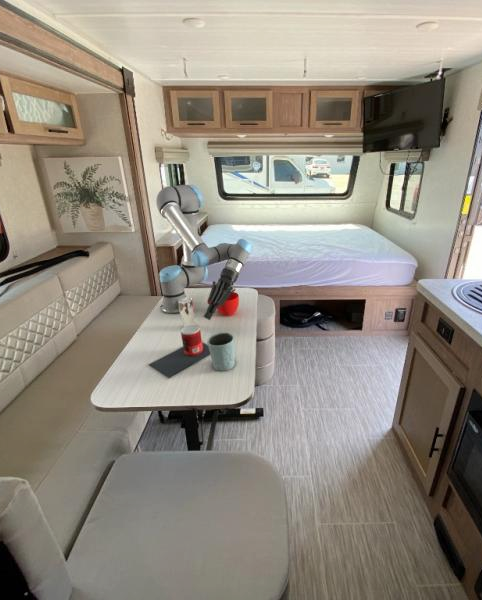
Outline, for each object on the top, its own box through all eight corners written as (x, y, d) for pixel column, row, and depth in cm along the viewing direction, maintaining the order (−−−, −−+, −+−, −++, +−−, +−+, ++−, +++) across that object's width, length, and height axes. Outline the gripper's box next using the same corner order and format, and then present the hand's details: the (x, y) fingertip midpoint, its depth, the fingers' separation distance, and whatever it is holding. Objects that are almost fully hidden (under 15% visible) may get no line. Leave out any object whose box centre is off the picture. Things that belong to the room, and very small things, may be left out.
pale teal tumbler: (241, 361, 130) (238, 335, 126) (225, 375, 122) (222, 348, 118) (221, 355, 135) (218, 330, 130) (205, 368, 127) (201, 341, 123)
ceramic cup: (212, 308, 180) (210, 291, 176) (242, 308, 178) (240, 291, 174) (205, 318, 168) (203, 301, 164) (237, 318, 166) (235, 301, 162)
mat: (196, 340, 147) (196, 339, 147) (217, 350, 139) (217, 349, 139) (149, 365, 131) (149, 364, 131) (168, 377, 122) (168, 377, 122)
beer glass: (189, 323, 163) (185, 296, 157) (199, 326, 160) (195, 298, 154) (179, 329, 158) (174, 301, 152) (190, 332, 155) (185, 304, 149)
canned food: (206, 347, 141) (202, 325, 136) (197, 357, 134) (193, 334, 129) (190, 345, 143) (186, 323, 138) (181, 355, 136) (176, 332, 131)
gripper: (216, 264, 146) (191, 311, 141) (236, 269, 138) (211, 319, 133) (226, 272, 151) (202, 317, 146) (246, 278, 143) (222, 325, 138)
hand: (206, 318), depth 140 cm, fingers closed
